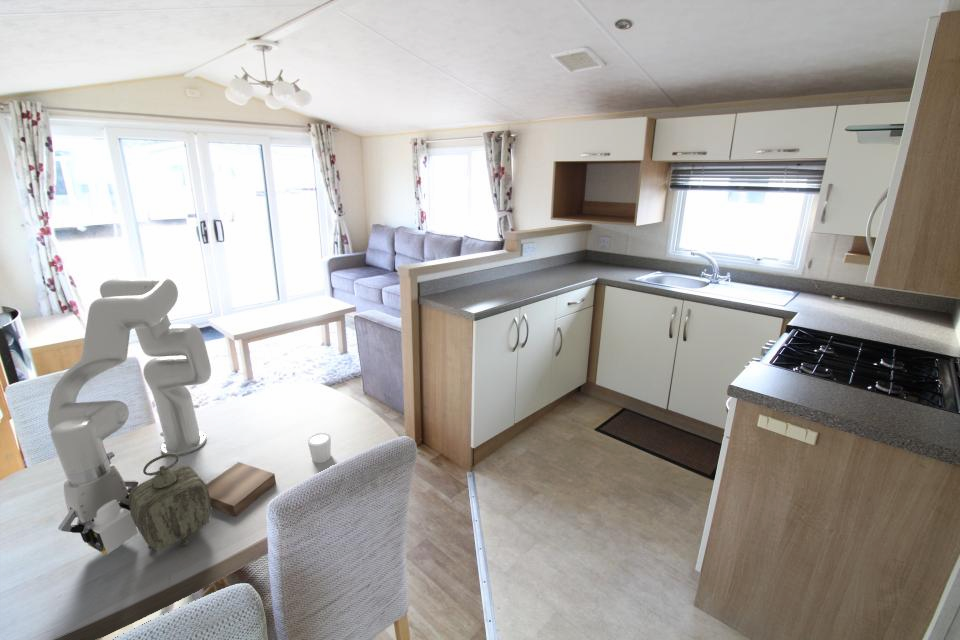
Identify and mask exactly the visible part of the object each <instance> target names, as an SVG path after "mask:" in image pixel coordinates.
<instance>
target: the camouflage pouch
mask: <svg viewBox="0 0 960 640" xmlns="http://www.w3.org/2000/svg"><path fill="white" fill-rule="evenodd" d="M178 456H179V455H178ZM178 456H177V455H175V454H162V455H160V456H157V457H155V458H153V459H152V460H150V461H148V462H147V463H146V465H145V466H144V467H143V470H142V471H143V474H144V475H145V476H154V477H152V478H150V479H147V480H146V481H144V482H141V483H140V484H138V485H137V486H136V487H135V488H134V489H133V490H131V491H130V495H129V507H130V512H131V516H132V518H133V521H134V523H135V525H136V528H137V531H138V533H140V535H141V536H142V538H143V539H144V541H145V543H146V544H147V546H148V549H149V550H155V549H161V548H165V547H168V546H170V545H172V544H174V543H176V542H177V541H180V540H181V541H180V546H181V547H187V545H188V544H189V540H188V539H187V538H186V537H188V536H190V535H191V534H193V533H195V532H196V531H198V530H200V529H202V528H203V527H204V526H206V524H208V523H209V521H210V518H211V514H212V507H211V501H210V495H209V492H208V489H207V487H206V483H205V482H204V480H203V479H202V478H201V477H200V476H199V474H197V472H195V470H194V469H193V468H192V467H191V466H190V465H186V466H185V465H184V466H179V467H175V468H173V467H174V466H176V464H177V463H178V461H179V457H178ZM168 457H173V458H175V461H174V462H173V463H171V464H170V465H168V466H167V467H165V466H164V465H162V466H161V465H160V467H159V468H158V469H159V470H158V471H154V472H147V471H146V470H147V468H149V466H150V465H151V464H153V463H155V462H157V461H159V460H161V459H164V458H168ZM172 468H173V469H172Z"/></svg>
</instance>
